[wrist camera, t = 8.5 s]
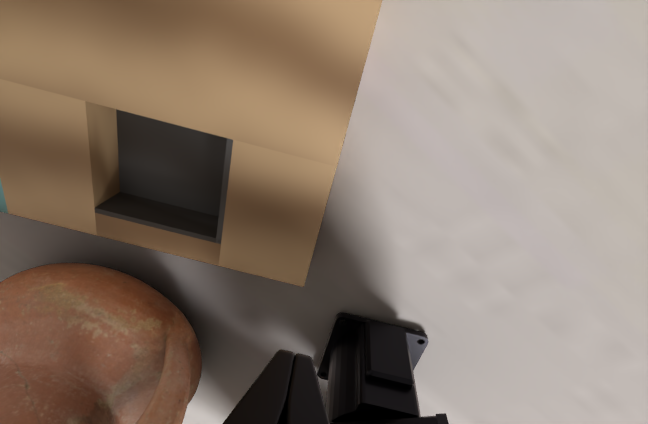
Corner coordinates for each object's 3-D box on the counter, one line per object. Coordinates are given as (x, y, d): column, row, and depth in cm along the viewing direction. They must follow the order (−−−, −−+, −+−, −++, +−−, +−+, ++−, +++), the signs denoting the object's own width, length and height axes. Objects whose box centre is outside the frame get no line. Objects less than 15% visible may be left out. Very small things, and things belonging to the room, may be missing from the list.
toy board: (309, 261, 22) (300, 301, 18) (-68, 166, 21) (-147, 190, 18) (459, -293, 11) (502, -432, 8) (-287, -521, 10) (-585, -781, 7)
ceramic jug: (83, 395, 30) (-106, 649, 18) (-33, 267, 24) (-447, 515, 12) (269, 369, 27) (201, 656, 15) (190, 213, 21) (-47, 476, 8)
